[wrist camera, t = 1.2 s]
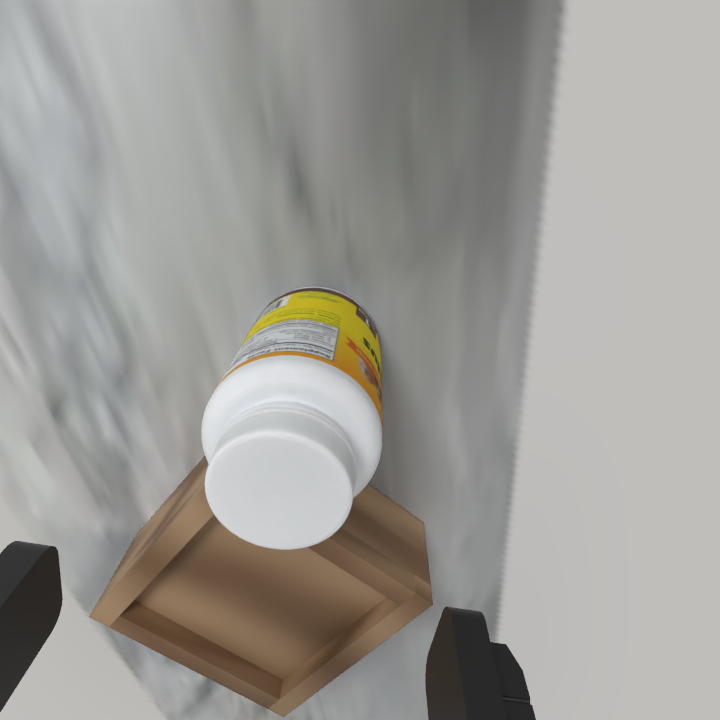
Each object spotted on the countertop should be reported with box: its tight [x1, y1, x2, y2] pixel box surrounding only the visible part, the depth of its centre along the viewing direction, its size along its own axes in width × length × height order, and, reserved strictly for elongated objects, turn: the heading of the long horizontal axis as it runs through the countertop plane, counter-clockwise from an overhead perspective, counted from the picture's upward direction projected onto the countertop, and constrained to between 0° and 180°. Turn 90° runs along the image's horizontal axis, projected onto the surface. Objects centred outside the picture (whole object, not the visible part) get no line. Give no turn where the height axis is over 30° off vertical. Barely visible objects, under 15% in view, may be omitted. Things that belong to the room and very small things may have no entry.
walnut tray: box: [89, 456, 433, 717], centre depth 25 cm, size 11×11×5 cm
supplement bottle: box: [201, 287, 383, 550], centre depth 18 cm, size 6×6×10 cm
